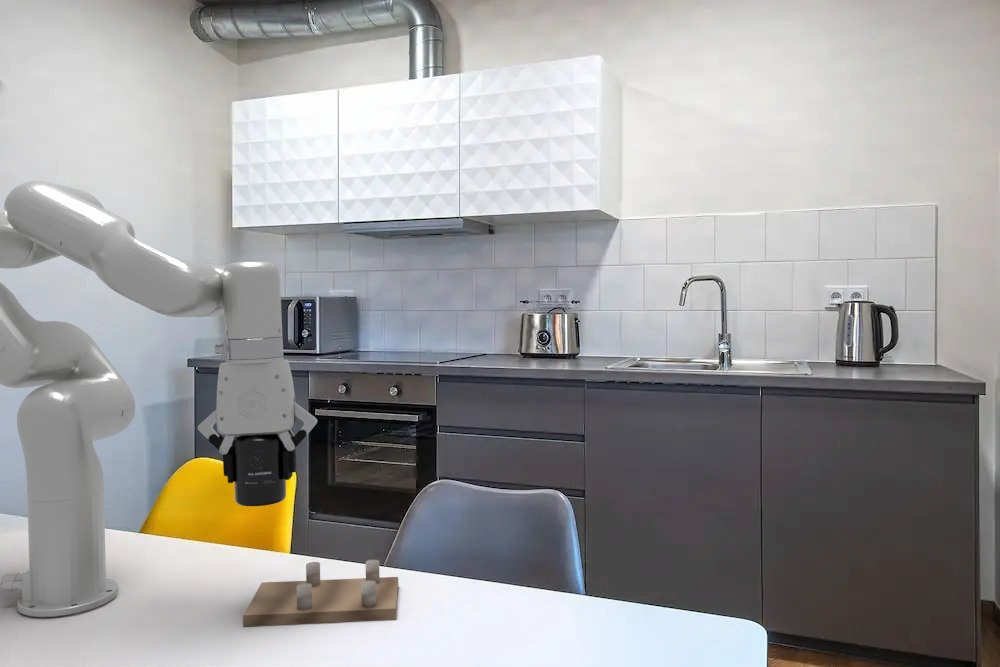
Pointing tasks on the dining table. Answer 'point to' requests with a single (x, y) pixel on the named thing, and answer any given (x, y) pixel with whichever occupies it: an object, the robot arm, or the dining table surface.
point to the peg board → (324, 599)
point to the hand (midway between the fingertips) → (260, 478)
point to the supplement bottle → (259, 470)
